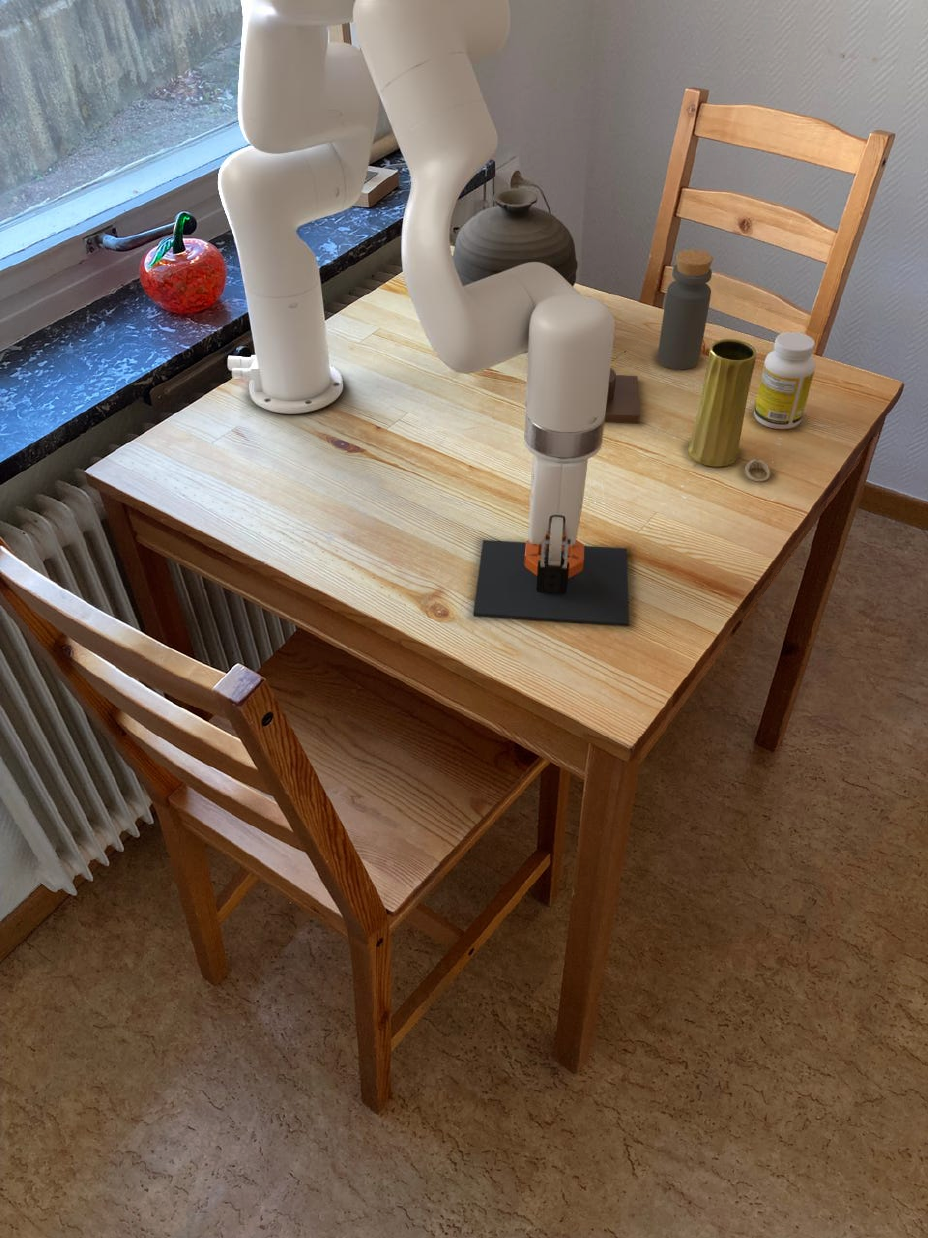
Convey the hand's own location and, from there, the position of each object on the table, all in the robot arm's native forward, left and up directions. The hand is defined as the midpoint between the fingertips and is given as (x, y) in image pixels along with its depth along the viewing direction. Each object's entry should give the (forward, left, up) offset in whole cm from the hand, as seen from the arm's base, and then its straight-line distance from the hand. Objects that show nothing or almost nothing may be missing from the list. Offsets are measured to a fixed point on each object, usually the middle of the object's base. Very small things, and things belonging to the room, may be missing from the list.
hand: (552, 568), depth 107 cm
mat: (0, -1, -1) cm, 1 cm away
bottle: (+16, +48, -1) cm, 51 cm away
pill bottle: (+28, +34, -1) cm, 44 cm away
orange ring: (0, 0, +1) cm, 1 cm away
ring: (+24, +21, -1) cm, 32 cm away
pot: (-8, +55, -1) cm, 55 cm away
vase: (+19, +25, -1) cm, 31 cm away
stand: (+4, +36, -1) cm, 36 cm away
